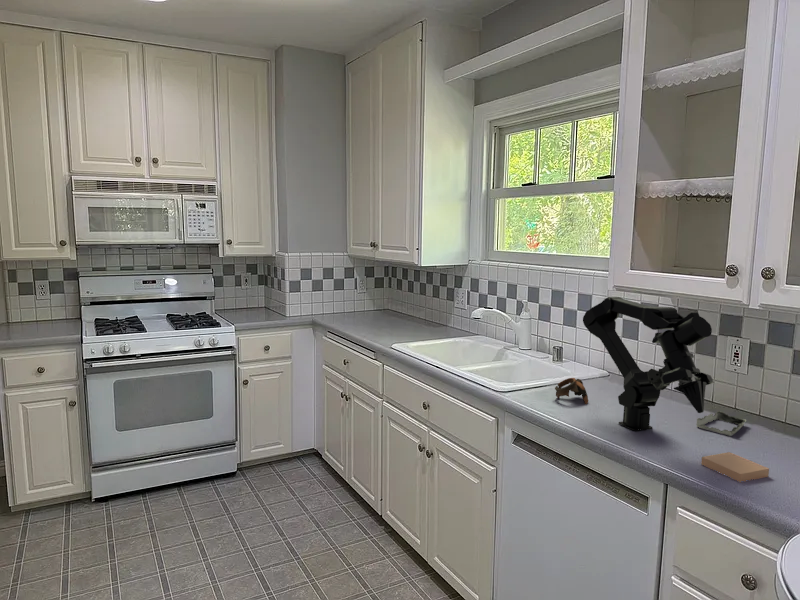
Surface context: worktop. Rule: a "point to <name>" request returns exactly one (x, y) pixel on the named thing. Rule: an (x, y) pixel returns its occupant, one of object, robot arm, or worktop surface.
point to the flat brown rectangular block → (735, 466)
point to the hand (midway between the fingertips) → (700, 412)
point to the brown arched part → (572, 388)
